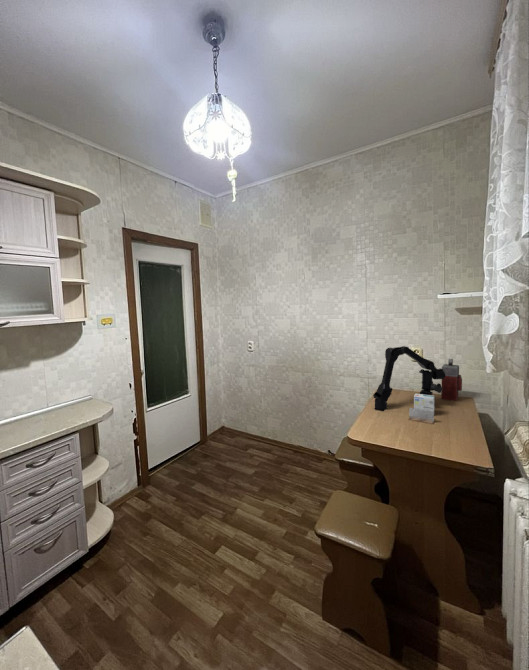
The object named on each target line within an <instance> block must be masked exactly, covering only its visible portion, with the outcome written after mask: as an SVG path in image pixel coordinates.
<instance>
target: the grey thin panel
mask: <svg viewBox="0 0 529 670" xmlns="http://www.w3.org/2000/svg"><path fill="white" fill-rule="evenodd" d="M408 409H409V411H408V413H409V418H415V419H421V420H427V421H433V422H434V423H435V410H434V411H428V410H421V409H415V408H414V407H409V408H408ZM409 418H408V419H409Z"/></svg>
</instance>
